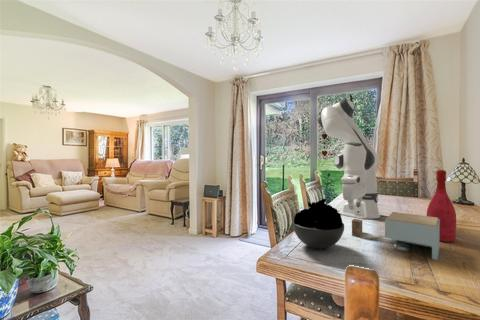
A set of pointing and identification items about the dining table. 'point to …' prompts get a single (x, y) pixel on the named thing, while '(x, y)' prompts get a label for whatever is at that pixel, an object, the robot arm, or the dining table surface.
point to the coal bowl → (318, 225)
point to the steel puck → (401, 247)
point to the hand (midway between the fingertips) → (355, 207)
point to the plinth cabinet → (414, 230)
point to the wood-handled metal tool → (358, 232)
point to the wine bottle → (443, 210)
